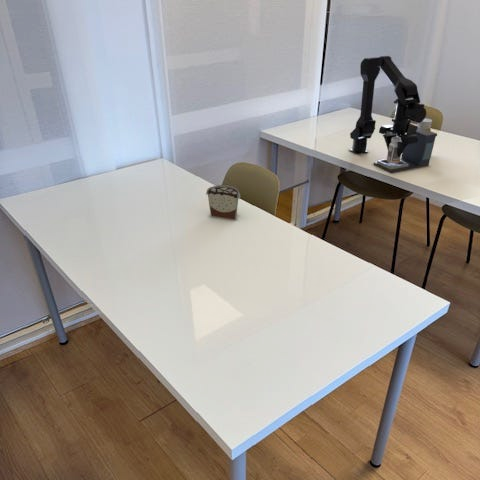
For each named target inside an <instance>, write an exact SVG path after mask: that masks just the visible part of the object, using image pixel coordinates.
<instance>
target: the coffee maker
mask: <svg viewBox="0 0 480 480" xmlns="http://www.w3.org/2000/svg"><path fill="white" fill-rule="evenodd" d="M411 133H412V132H409V133H405V134H411ZM412 134H413V133H412ZM415 135H417V136H418V137H419V138H418V142H417V143H412V144H408V145H407V146H406V147H405V149H404V151H403V152H402V154H401V158H400V161H399V162H398V163H390V162H388V161H387V158H383V159H378V160H377V161H374V162H373V166H376V168H377V167H378V168H379V169H381V170H384V171H385V172H388V173H389V174H395V173H400V172H405V171H410V170H415V169H420V168H426V167H430V162H431V157H432V153H433V150H434V146H435V142H436V138H437V136H438V133H437V132H434V131H432V130H431V131H428V130H426V129H423V128H420V127H418V128H417V131H416V133H415Z"/></svg>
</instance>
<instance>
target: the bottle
mask: <svg viewBox="0 0 480 480" xmlns="http://www.w3.org/2000/svg"><path fill="white" fill-rule="evenodd" d="M432 123H433V119H431V118H426V117H425V119H424V120H423V121H422V122H420V123H417V122H416V126H418V127H420V128H423V129H426V130H428V131H431V132H432V129H431V127H432Z"/></svg>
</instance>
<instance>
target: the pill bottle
mask: <svg viewBox="0 0 480 480" xmlns="http://www.w3.org/2000/svg"><path fill="white" fill-rule="evenodd" d="M391 141H392V142H391V143H390V144H389V149H387V155H386V159H387V161H388V162H390V163H398V162H399V161H400V158H401V157H402V155H401V156H400V157H398V155H397V142H398V141H401V138H400V137H398V136H397V137H392V139H391Z"/></svg>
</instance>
